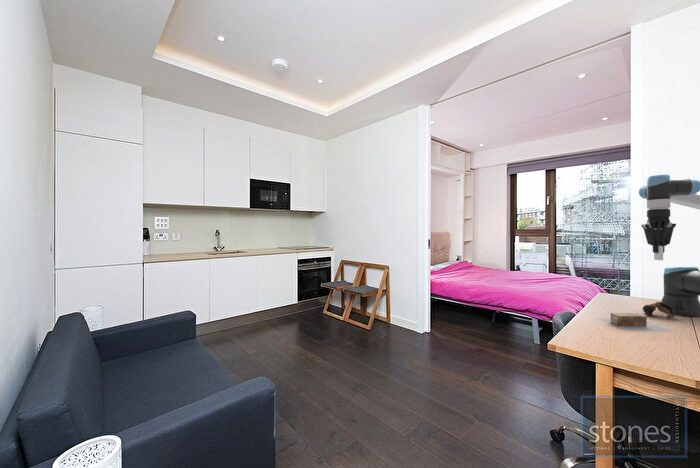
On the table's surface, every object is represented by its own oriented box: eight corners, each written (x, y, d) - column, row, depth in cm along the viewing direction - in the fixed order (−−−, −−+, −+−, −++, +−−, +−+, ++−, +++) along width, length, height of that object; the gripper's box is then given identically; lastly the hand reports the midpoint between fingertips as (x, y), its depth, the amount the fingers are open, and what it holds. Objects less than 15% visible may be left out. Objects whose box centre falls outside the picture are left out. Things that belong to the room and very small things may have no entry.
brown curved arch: (652, 314, 148) (665, 301, 145) (670, 328, 140) (683, 315, 136) (631, 309, 147) (643, 296, 144) (648, 322, 139) (661, 309, 135)
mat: (640, 320, 138) (640, 319, 138) (673, 332, 122) (673, 331, 122) (598, 319, 140) (598, 318, 140) (625, 331, 124) (625, 330, 124)
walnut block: (637, 313, 132) (610, 313, 133) (646, 316, 127) (618, 316, 128) (637, 323, 132) (610, 322, 133) (646, 326, 127) (618, 326, 128)
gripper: (666, 208, 139) (666, 258, 140) (635, 209, 141) (636, 259, 141) (682, 207, 132) (682, 260, 132) (650, 208, 133) (650, 261, 134)
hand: (658, 259), depth 137 cm, fingers closed
